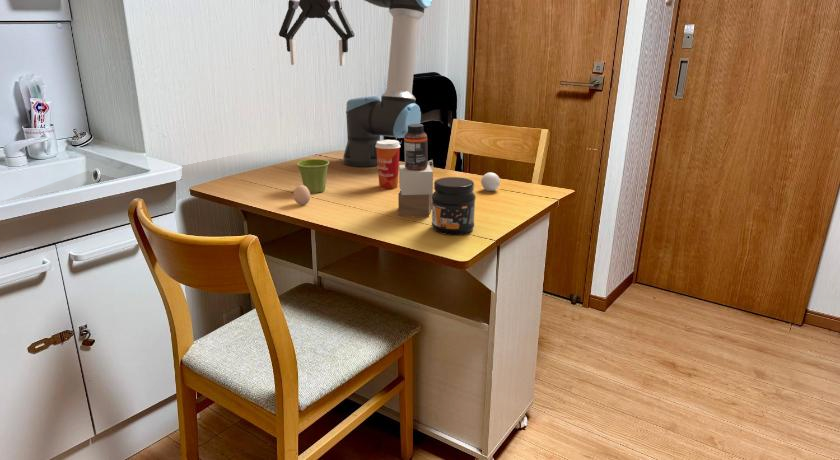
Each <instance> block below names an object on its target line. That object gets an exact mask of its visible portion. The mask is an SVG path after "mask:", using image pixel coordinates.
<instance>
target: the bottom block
mask: <svg viewBox="0 0 840 460" xmlns="http://www.w3.org/2000/svg"><path fill="white" fill-rule="evenodd" d="M397 195H398V217H412V216H414V217H415V218H429V217H430V216H429V215H431V214H432V211H431V210H432V194H425V195H402V194H401V190H399V192H398V194H397Z"/></svg>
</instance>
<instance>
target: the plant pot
mask: <svg viewBox="0 0 840 460" xmlns="http://www.w3.org/2000/svg"><path fill="white" fill-rule="evenodd" d="M329 165H330V161H329V160H327V159H321V158H319V159H318V158H317V159H316V158H310V159H304V160H300V161H298V162H297V163H296V166H297V167H298V170H299V171H300V176H301V180H302V185H304V186H306V187H307V188H308V190H309V192H310V194H317V193H323V192H325V190H326V186H327V185H326V184H327V174H328V173H327V171H328V168H329V167H328V166H329Z"/></svg>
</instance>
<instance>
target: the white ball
mask: <svg viewBox="0 0 840 460" xmlns="http://www.w3.org/2000/svg"><path fill="white" fill-rule="evenodd" d="M480 182H481V186H482V187H483V189H484V190H485V191H488V192H493V191H496V190H497V189H498V188H499V187H500V183H501V180H500V177H499V175H497V174H496V173H494V172H489V171H488V172H487V173H485V174H484V175H482V178H481V180H480Z"/></svg>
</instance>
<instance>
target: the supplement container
mask: <svg viewBox="0 0 840 460" xmlns="http://www.w3.org/2000/svg"><path fill="white" fill-rule="evenodd" d="M433 189H434V190H433V194H432V211H431V215H432V216H431V220H432V221H431V227H432V229H433V230H434V231H436V232H437V233H439V234H442V233H443V235H448V234H449V235H448V236H459V234H461V235H465V234H467V233H470V232H471V231H473V229H474V227H475V211H476V210H475V208H476V194H475V193H474V191H475V190H474V189H475V183H474V181H473V180H472V179H469V178H465V177H457V176H450V177H449V176H448V177H441V178H438V179H436V180H435V181H433Z"/></svg>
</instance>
